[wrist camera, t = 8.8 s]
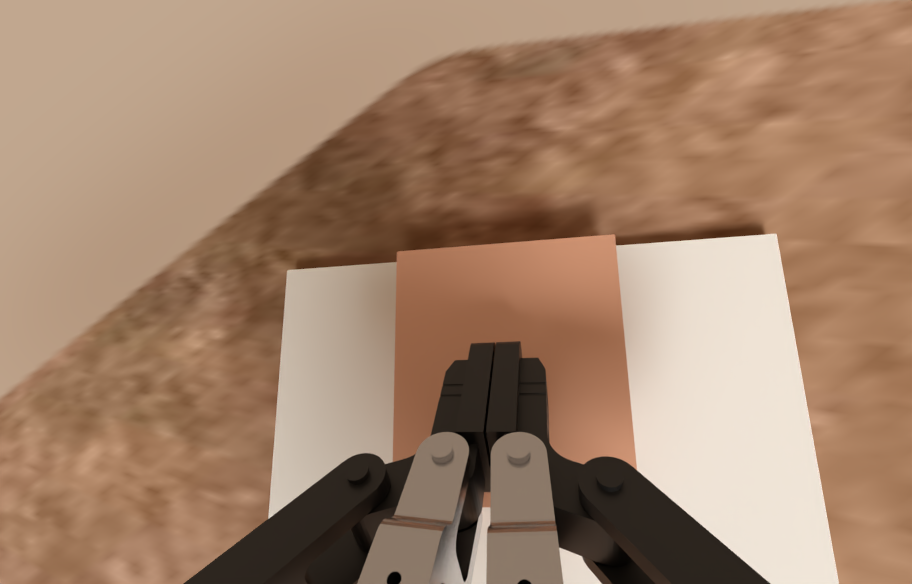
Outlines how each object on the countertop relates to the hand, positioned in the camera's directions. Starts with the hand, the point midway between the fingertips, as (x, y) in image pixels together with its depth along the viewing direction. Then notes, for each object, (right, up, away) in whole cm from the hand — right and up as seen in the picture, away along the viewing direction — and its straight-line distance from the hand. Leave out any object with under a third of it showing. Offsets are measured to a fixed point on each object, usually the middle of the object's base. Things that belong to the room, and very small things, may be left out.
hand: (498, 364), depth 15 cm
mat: (+1, -3, +4) cm, 5 cm away
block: (+1, -5, +2) cm, 5 cm away
